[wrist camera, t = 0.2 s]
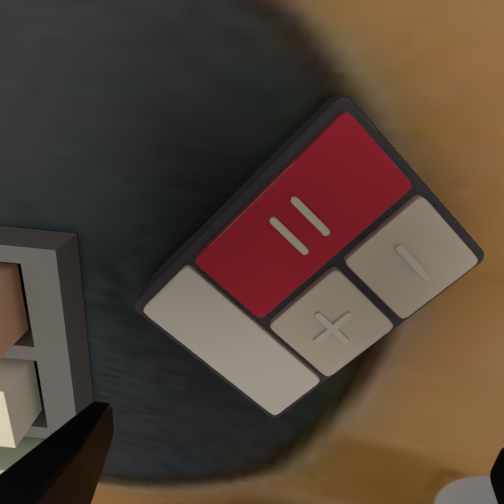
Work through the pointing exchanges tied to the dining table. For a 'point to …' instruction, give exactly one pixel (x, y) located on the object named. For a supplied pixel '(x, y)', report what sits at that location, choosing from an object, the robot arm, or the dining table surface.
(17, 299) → the key terracotta
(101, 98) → the dining table surface
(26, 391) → the key ivory
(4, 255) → the keypad frame
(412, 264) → the red white panel box
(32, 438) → the key sage
